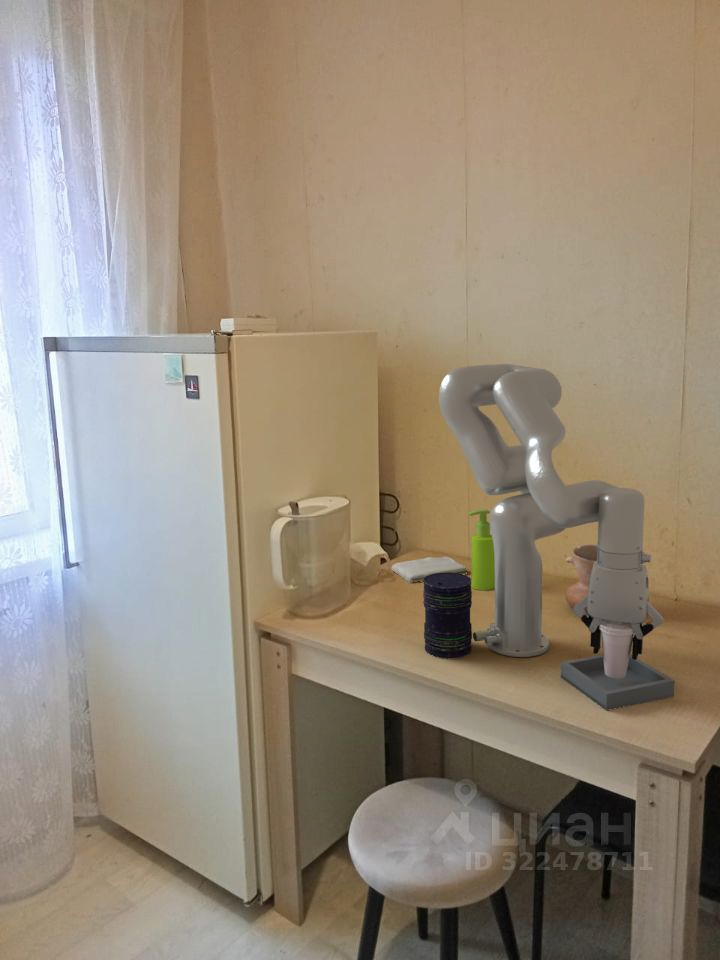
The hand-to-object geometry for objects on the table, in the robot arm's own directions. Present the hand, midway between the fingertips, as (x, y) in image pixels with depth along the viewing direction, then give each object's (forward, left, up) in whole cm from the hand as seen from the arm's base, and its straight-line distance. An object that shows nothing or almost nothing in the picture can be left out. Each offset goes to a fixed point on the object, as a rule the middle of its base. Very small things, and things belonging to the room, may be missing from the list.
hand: (615, 652), depth 141 cm
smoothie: (0, 0, -4) cm, 4 cm away
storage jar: (-21, +27, -7) cm, 35 cm away
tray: (0, 0, -6) cm, 6 cm away
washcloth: (-4, +75, -7) cm, 75 cm away
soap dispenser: (+3, +59, -7) cm, 59 cm away
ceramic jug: (+20, +33, -7) cm, 39 cm away
